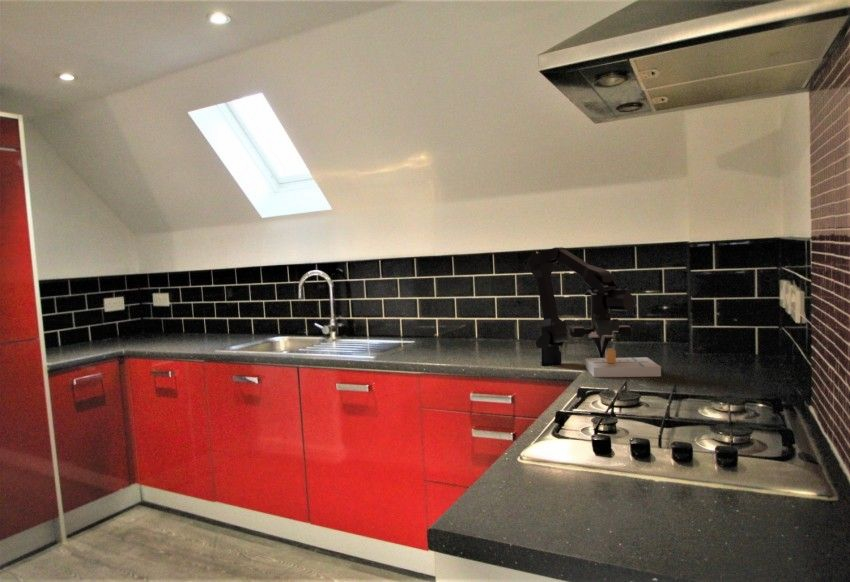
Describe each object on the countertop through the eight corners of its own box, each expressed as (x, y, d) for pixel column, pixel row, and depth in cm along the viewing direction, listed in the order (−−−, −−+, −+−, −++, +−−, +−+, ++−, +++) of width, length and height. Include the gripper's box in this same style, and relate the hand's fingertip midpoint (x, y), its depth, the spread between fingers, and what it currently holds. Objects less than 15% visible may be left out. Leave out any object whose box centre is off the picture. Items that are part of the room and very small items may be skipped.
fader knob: (608, 370, 187) (607, 350, 187) (605, 367, 191) (605, 348, 191) (615, 370, 187) (615, 350, 187) (613, 367, 191) (612, 348, 191)
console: (593, 377, 182) (593, 367, 182) (585, 367, 198) (585, 358, 198) (661, 376, 180) (660, 366, 180) (647, 366, 196) (647, 356, 195)
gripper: (574, 312, 181) (575, 363, 182) (636, 311, 179) (637, 361, 180) (569, 309, 192) (570, 356, 193) (628, 307, 190) (629, 355, 191)
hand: (601, 357), depth 189 cm, fingers closed
